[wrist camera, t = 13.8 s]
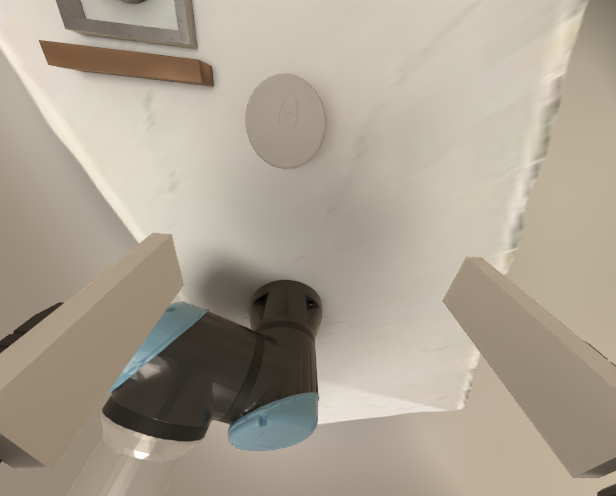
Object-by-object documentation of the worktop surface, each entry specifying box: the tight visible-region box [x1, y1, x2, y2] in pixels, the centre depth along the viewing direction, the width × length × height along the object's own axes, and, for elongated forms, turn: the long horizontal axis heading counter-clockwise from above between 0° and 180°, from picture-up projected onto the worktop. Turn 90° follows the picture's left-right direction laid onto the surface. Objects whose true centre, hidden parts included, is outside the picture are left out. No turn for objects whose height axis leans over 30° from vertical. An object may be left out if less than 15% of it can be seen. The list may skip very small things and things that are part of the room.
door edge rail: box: [39, 40, 214, 86], centre depth 26 cm, size 2×16×4 cm, turn 85°
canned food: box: [246, 74, 325, 169], centre depth 26 cm, size 8×8×11 cm
